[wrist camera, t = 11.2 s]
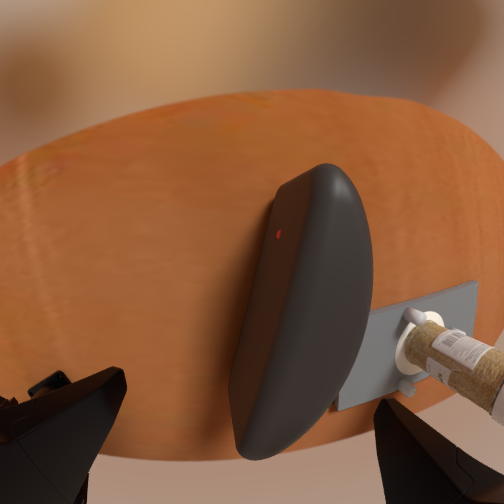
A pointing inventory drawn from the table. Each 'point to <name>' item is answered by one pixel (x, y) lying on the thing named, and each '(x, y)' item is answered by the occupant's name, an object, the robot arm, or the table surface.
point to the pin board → (403, 343)
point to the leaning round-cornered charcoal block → (302, 312)
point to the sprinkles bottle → (460, 365)
